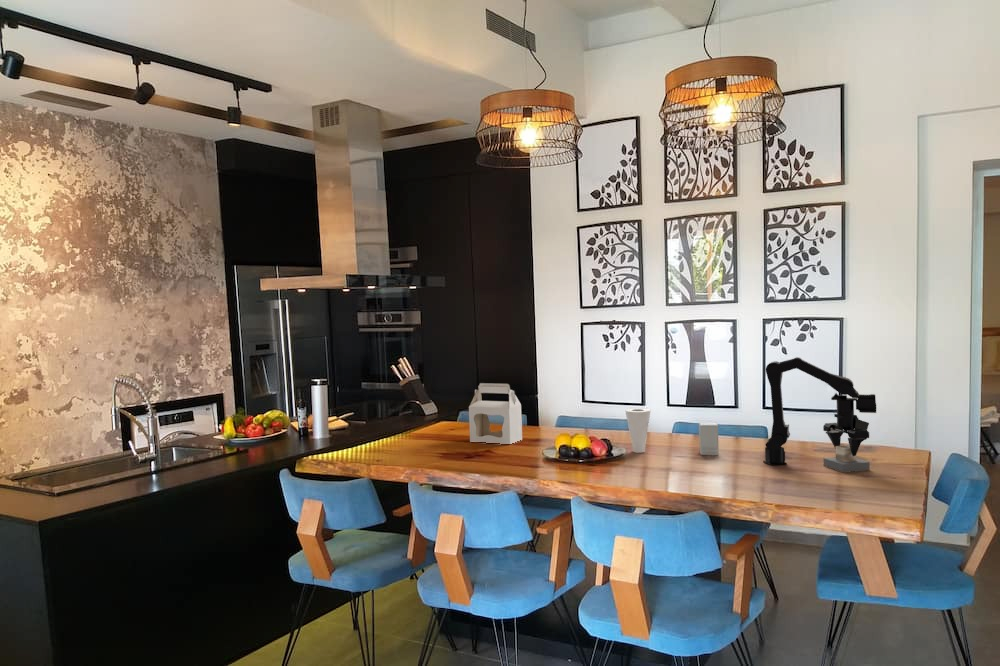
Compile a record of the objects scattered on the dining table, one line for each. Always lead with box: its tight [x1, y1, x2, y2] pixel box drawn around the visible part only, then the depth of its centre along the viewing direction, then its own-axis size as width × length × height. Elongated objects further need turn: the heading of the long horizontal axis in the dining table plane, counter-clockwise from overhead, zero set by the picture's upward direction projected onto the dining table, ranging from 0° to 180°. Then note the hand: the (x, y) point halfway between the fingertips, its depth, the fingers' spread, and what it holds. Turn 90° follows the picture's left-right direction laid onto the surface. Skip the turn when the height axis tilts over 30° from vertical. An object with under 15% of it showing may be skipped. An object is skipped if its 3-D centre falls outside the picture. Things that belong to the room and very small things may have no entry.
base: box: [823, 456, 871, 473], centre depth 263 cm, size 11×11×3 cm
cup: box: [625, 407, 651, 454], centre depth 304 cm, size 11×11×18 cm
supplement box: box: [698, 422, 720, 456], centre depth 296 cm, size 7×7×13 cm
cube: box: [835, 444, 858, 462], centre depth 263 cm, size 5×5×5 cm
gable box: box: [468, 382, 523, 445], centre depth 338 cm, size 22×13×28 cm, turn 63°
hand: (845, 453), depth 263 cm, fingers open, 9 cm apart
